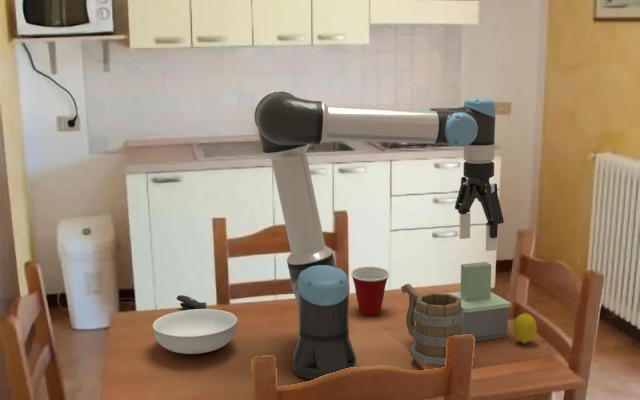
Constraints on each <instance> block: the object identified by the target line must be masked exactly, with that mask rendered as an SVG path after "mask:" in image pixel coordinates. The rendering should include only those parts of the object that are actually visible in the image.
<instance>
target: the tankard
mask: <svg viewBox="0 0 640 400" xmlns="http://www.w3.org/2000/svg"><path fill="white" fill-rule="evenodd" d="M400 290H401V293H403V294H406V293H407V295H408V298H409V299H408V308H407V311H406V315H405V317H406V318H405V319H406V320H405V321H406V322H405V324H406V328H407V332H408V335H409V336H411V337H412V338H413V341H414V342H413V343H412V345H411V347H410V351H409V356H410V357H411V358H412V359H415V360H416V361H418V362H420V363H421V364H422V365H432V366H433V365H434V366H444V365H445V359H446V346H447V340H448V337H450V336H454V335H463V328H462V327H461V323H462V320H463V317H464V315H463V311H464V309H463V308H462V307H461V299H460V298H458V297H456V296H454V295H451V294H445V293H441V292H430V293H425V294H420V293H419V292H417V290H416V289H415V288H414V287H413V285H412V284H411V283H405V284H403V285H402V286H401V287H400ZM444 367H445V366H444Z"/></svg>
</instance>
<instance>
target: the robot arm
mask: <svg viewBox="0 0 640 400" xmlns="http://www.w3.org/2000/svg"><path fill="white" fill-rule="evenodd" d="M255 107H256V108H255V109H254V111H255V112H254V116H253V117H254V124H255V126H256V127H257V129H258V130H257V131H258V134H259V135H258V136H259V138H260V139H259V140H260V143H261V148H262V153H263V155H265V156H266V157H268V158H269V159H270V160H271V165H272V169H273V174H274V178H275V183H276V188H277V193H278V197H279V198H278V199H279V202H280V206H281V211H282V212H281V213H282V216H283V220H284V225H285V229H286V234H287V235H286V236H287V240H288V243H289V249H290V254H289V255H288V257H287V258H286V262H287V269H288V272H289V278H290V279H289V284H290V288H291V290H292V293H293V295H294V297H295V300H296V303H297V305H298V330H299V331H298V334H299V337H298V340H297V342H296V347H295V350H294V353H293V355H292V360H291V361H292V362H291V363H292V364H291V365H292V371H293V373H294V374H295V375H297V376H299V377H302V378H304V379H309V380H312V379H315V378H318V377H320V376H323V375H326V374H329V373H333V372H336V371H339V370H342V369H345V368H349V367H355V366H356V367H357V356H356V353H355V349H354V347H353V345H352V341H351V339H350V336H349V335H350V332H349V331H350V329H349V328H350V327H349V326H350V325H349V323H350V320H349V318H350V317H349V313H350V311H349V310H350V309H349V308H350V307H349V297H350V296H349V292H350V284H349V279H348V278H349V277H348V274H347V273H346V272H345V271H344V270H343V269H341V268H340V267H337V265H336V261H335V256H334V253H333V249H332V248H330V247H329V246H327V245H326V243H325V238H324V233H323V229H322V224H321V219H320V214H319V207H318V204H317V199H316V194H315V189H314V184H313V181H312V180H313V179H312V174H311V170H310V169H311V168H310V165H309V161H308V155H307V151H308V149H309V147H311V145H322V144H323V143H324V142H325V141H340V142H341V141H344V142H345V141H346V142H369V143H370V142H372V143H373V142H374V143H375V142H376V143H379V142H380V143H403V144H404V143H406V144H411V143H412V144H435V145H449V146H450V145H452V146H453V147H463V160H464V162H463V174H462V175H463V176H462V177H461V179H460V187H459V191H458V192H457V193H458V195H457V197H456V202H455V205H454V210H457V211H458V214H459V239H460V240H463V239H464V240H465V239H470V238H471V210H470V209H471V207H472V206H473V203H474V201H475V200H476V199H477V201H478V202H480V204H481V207H482V210H483V213H484V215H485V218H486V221H487V222H486V223H485V226H486V227H485V251H487V252H492V251H497V250H498V233H499V232H498V231H499V225H500V224H504V222H505V221H504V216H503V212H502V208H501V207H502V206H501V203H500V198H499V194H498V184H497V183H490V179H491V178H493V177H494V176H495V162H494V160H495V151H496V147H495V138H496V136H495V135H496V119H497V117H496V116H497V115H496V104H495V101H494V100H493V99H491V98H488V97H487V98H484V97H483V98H480V97H479V98H474V97H473V98H467V99H465V100H464V102H463V106H461V107H434V108H432V107H429V108H421V109H400V108H399V109H398V108H397V109H395V108H379V107H378V108H377V107H376V108H375V107H356V106H355V107H354V106H332V105H327V104H325V103H324V101H321V100H308V99H304V98H300V97H296V96H295V95H293V94H291V93H290V92H286V91H274V92H272V93H268V94H266V95H265V96H263V97H262V98H261V99H260V100H259V102H258V103H257V105H256V106H255Z"/></svg>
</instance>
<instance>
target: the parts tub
mask: <svg viewBox="0 0 640 400" xmlns="http://www.w3.org/2000/svg"><path fill="white" fill-rule="evenodd" d="M463 315H464V317H463V320H462V323H461V327H462V328H463V334H472V335H473V336H474V337H475V341H474V342H477V341H478V342H479V341H487V340H492V339H499V338H500V339H501V338H508V329H509V328H508V327H509V326H508V325H509V324H508V323H509V321H508V320H509V318H508V317H509V307H507V308H499V309H491V310H483V311H475V312H467V313H464V312H463Z"/></svg>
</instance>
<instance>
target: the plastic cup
mask: <svg viewBox="0 0 640 400" xmlns="http://www.w3.org/2000/svg"><path fill="white" fill-rule="evenodd" d="M350 276H351V277H352V280H353V281H352V282H353V285H354V289H355V294H356V302H357V304H358V310H359V311H358V312H359V314H360V315H361V316H363V317H364V316H365V317H374V316H378V315H380V314H381V312H382V306H383V305H382V304H383V302H384V295H385V289H386V285H387V281H388V279H389V277H390V271H389V270H387V269H385V268H382V267H378V266H360V267H357V268H354V269H352V270H351V271H350Z"/></svg>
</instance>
